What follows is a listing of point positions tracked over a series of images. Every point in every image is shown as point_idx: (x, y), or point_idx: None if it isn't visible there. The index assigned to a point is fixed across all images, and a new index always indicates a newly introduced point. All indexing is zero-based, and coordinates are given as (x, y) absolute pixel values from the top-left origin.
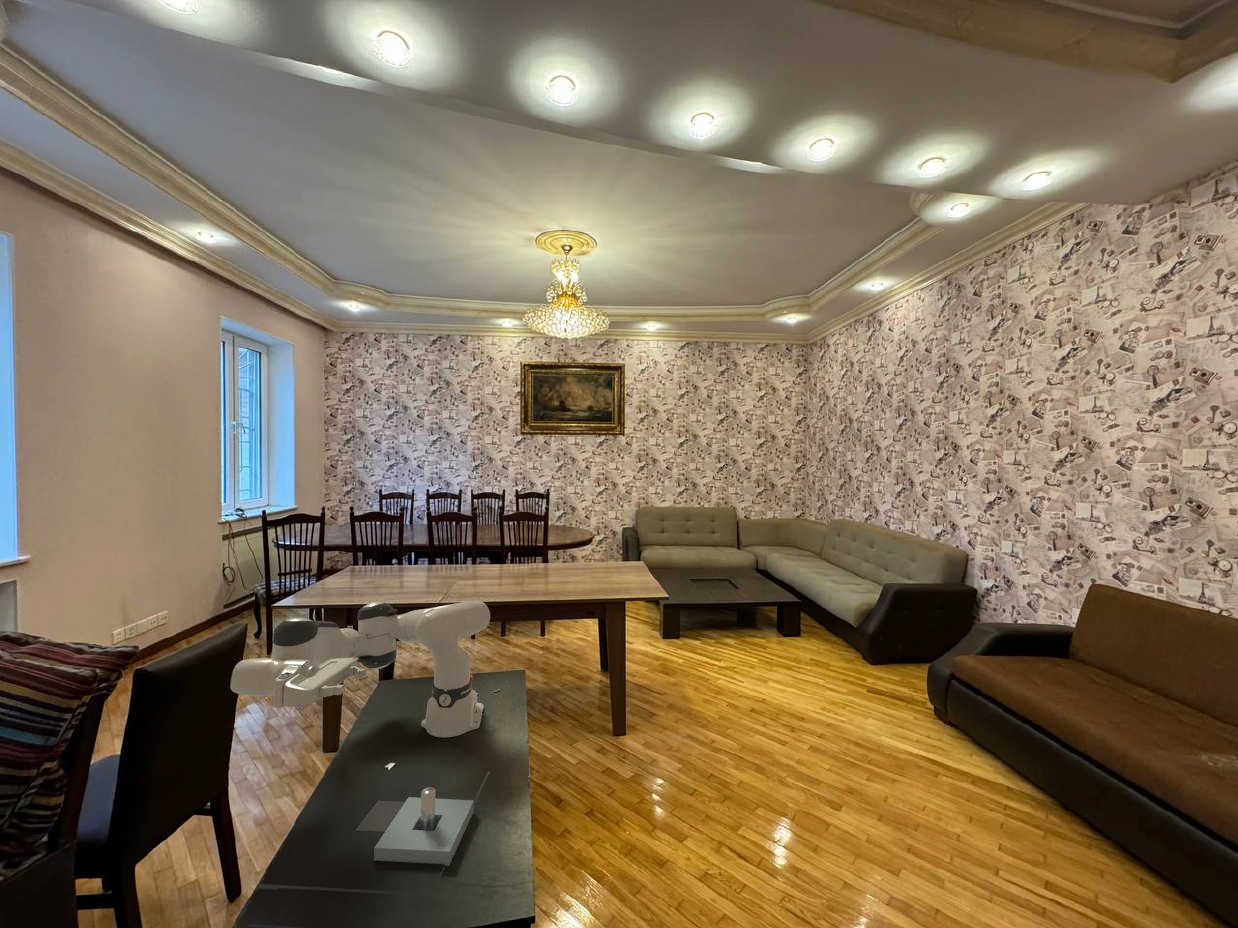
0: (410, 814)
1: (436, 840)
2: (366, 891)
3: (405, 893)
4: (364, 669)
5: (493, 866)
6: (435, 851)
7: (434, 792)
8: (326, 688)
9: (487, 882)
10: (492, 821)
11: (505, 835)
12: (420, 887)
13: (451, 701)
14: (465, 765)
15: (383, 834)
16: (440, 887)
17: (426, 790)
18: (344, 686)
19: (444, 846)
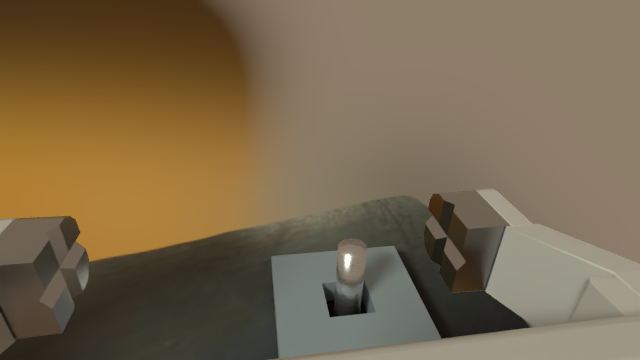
0: (337, 336)
1: (382, 268)
2: None
3: (459, 292)
4: (3, 222)
5: (367, 225)
6: (401, 262)
7: (351, 239)
8: (621, 262)
9: (392, 223)
10: (285, 248)
11: (311, 228)
12: (439, 280)
13: None
14: (93, 347)
15: None
16: (426, 260)
17: (351, 251)
18: (437, 199)
19: (388, 254)
